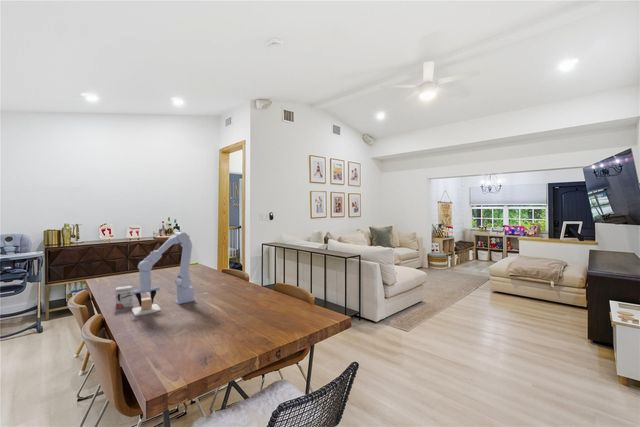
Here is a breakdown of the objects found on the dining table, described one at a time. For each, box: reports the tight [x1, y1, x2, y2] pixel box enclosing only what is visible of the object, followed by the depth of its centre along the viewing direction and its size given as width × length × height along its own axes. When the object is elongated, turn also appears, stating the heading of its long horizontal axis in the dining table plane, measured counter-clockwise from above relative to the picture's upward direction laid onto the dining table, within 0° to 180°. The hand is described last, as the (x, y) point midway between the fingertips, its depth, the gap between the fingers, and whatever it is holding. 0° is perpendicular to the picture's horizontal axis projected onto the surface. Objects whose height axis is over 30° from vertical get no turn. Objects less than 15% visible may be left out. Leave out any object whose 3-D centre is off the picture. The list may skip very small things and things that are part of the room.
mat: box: [131, 303, 162, 317], centre depth 171 cm, size 13×13×1 cm
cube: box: [140, 296, 152, 310], centre depth 171 cm, size 5×5×5 cm
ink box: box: [115, 285, 134, 310], centre depth 179 cm, size 8×5×12 cm, turn 123°
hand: (146, 304), depth 171 cm, fingers closed on cube, 5 cm apart
